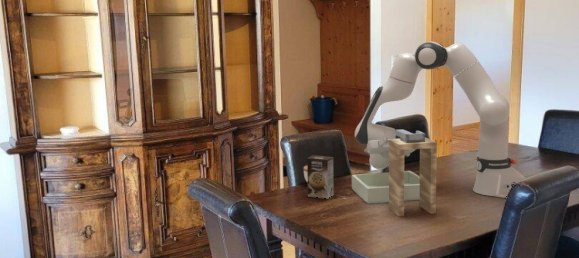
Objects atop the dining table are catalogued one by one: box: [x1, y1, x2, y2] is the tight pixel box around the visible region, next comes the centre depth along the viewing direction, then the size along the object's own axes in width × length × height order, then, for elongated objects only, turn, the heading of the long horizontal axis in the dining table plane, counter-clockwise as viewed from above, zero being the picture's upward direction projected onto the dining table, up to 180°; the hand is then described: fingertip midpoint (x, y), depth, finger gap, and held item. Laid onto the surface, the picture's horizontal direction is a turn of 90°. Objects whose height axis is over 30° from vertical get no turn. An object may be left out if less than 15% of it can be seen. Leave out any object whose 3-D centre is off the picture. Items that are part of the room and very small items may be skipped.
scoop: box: [395, 129, 426, 143], centre depth 201 cm, size 7×16×3 cm, turn 10°
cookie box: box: [306, 154, 334, 200], centre depth 221 cm, size 9×6×16 cm
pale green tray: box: [351, 170, 420, 205], centre depth 222 cm, size 26×22×6 cm
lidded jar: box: [303, 165, 308, 183], centre depth 239 cm, size 11×11×9 cm
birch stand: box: [388, 136, 438, 217], centre depth 198 cm, size 14×10×26 cm
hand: (398, 138), depth 211 cm, fingers open, 8 cm apart
